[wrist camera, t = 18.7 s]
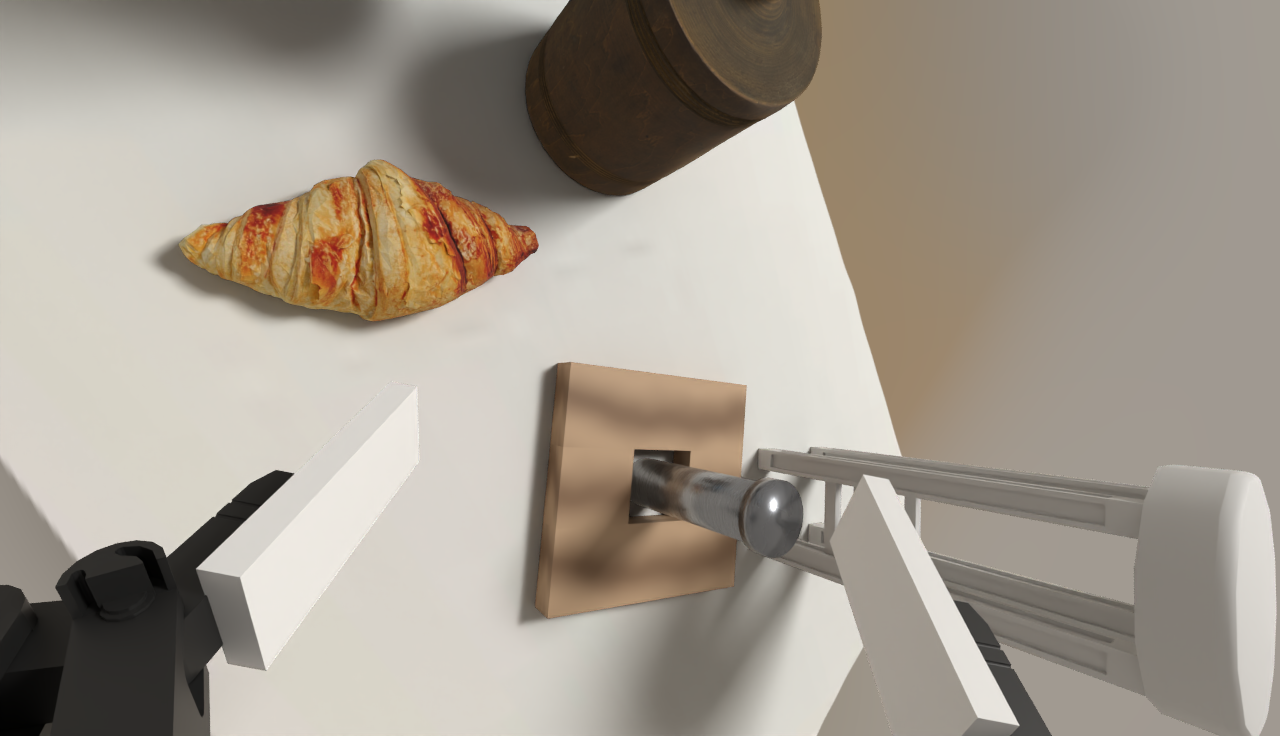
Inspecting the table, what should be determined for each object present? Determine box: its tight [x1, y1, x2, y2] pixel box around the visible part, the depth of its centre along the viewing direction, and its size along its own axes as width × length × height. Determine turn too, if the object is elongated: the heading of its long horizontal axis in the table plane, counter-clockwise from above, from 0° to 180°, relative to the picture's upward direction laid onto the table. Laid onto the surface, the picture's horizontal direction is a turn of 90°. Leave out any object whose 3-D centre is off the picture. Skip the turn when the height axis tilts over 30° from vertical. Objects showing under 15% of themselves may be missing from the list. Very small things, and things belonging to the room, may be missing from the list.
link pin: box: [630, 458, 803, 558], centre depth 42 cm, size 5×5×16 cm
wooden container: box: [525, 0, 822, 195], centre depth 37 cm, size 15×15×22 cm
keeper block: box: [535, 362, 747, 619], centre depth 47 cm, size 20×20×2 cm
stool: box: [757, 447, 1276, 736], centre depth 45 cm, size 16×16×35 cm
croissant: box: [178, 160, 539, 321], centre depth 34 cm, size 21×10×8 cm, turn 101°
